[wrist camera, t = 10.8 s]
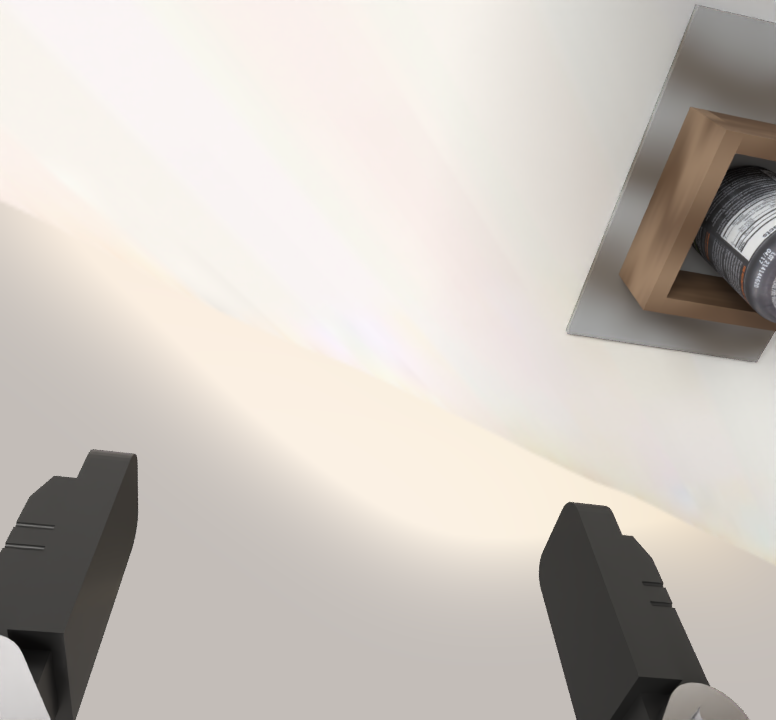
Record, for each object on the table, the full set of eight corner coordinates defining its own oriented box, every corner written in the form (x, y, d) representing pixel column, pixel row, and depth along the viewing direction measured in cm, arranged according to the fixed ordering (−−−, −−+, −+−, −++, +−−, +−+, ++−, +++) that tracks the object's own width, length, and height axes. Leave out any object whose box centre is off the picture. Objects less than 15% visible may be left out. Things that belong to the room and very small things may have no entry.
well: (695, 4, 36) (739, 19, 32) (930, 59, 38) (1000, 80, 34) (565, 330, 47) (586, 372, 43) (753, 359, 49) (790, 401, 45)
